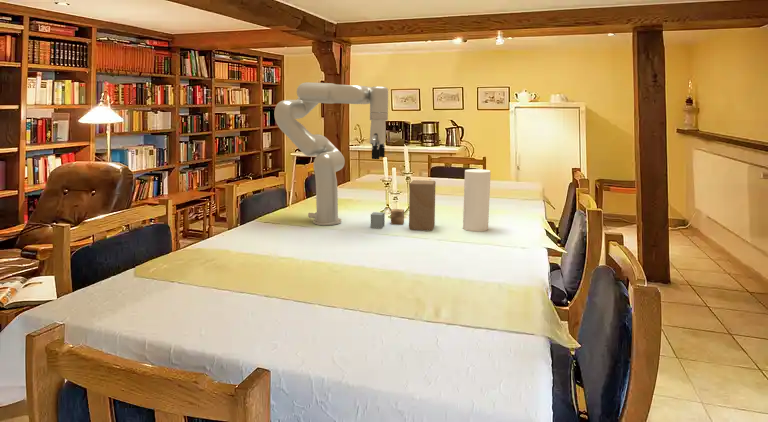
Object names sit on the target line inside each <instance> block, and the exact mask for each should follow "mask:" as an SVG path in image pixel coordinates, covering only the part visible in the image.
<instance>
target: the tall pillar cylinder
mask: <svg viewBox="0 0 768 422" xmlns="http://www.w3.org/2000/svg"><path fill="white" fill-rule="evenodd" d="M491 172H492V171H491V170H489V169H481V168H480V169H478V168H475V169H473V168H472V169H464V181H463V182H464V186H463V188H464V189H463V210H462V211H463V213H462V214H463V215H462V217H463V219H462V229H463V230H466V231H469V232H485V231H488V230H489V222H490V221H489V217H490V216H489V215H490V213H489V212H490V197H491V194H490V193H491V174H492V173H491Z"/></svg>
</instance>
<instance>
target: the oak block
mask: <svg viewBox="0 0 768 422" xmlns="http://www.w3.org/2000/svg"><path fill="white" fill-rule="evenodd" d="M404 223H405V209H403V208H402V209H397V208H393V209H392V210H391V211H390V225H394V226H395V225H396V226H397V225H398V226H399V225H400V226H402V225H404Z"/></svg>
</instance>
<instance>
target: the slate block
mask: <svg viewBox="0 0 768 422" xmlns="http://www.w3.org/2000/svg"><path fill="white" fill-rule="evenodd" d="M385 214H386V213H385V212H377V211H376V212H374V211H373V212H371V213H370V229H383V228H384V227H385V223H386V222H385V220H386V219H385Z"/></svg>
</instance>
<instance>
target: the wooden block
mask: <svg viewBox="0 0 768 422" xmlns="http://www.w3.org/2000/svg"><path fill="white" fill-rule="evenodd" d="M408 188H409V191H408V192H409V195H408V196H409V197H408V198H409V201H408V203H409V205H408V207H409V209H408V217H409V218H408V229H409V230H411V231H412V230H415V231H433V229H434V227H435V225H436V223H435V222H436V218H435V217H436V181H435V180H421V179H419V180H418V179H416V180H414V179H413V180H411V182H409V187H408Z"/></svg>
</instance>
